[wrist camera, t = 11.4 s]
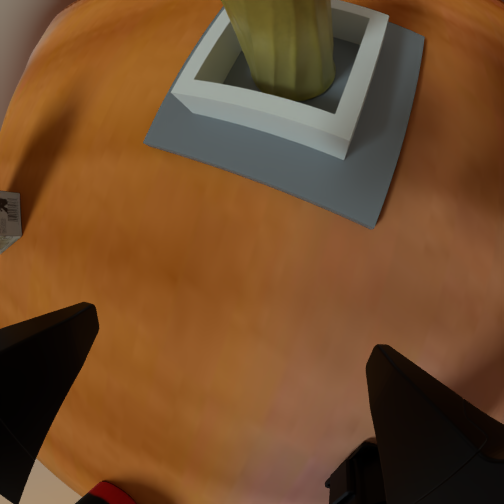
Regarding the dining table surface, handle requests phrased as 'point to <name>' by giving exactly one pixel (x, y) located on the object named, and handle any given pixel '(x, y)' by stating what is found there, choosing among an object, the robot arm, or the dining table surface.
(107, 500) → the soda can
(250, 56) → the vase
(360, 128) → the holder
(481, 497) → the robot arm
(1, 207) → the coffee box
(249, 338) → the dining table surface
